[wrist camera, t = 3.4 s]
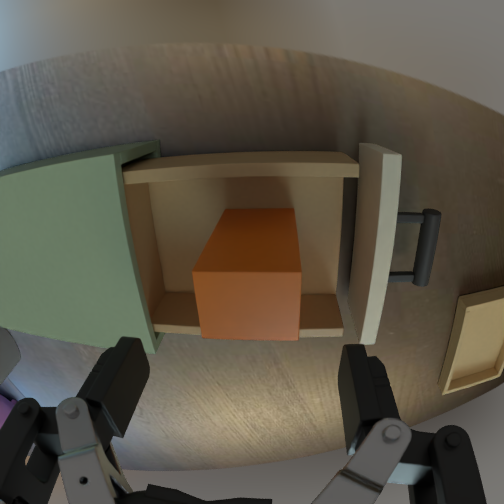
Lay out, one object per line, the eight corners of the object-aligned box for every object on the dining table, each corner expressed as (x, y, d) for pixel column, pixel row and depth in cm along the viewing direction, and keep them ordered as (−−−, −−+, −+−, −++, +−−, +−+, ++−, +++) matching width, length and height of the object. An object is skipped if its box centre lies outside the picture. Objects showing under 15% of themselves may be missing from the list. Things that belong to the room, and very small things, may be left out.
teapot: (31, 398, 43) (2, 445, 32) (63, 441, 49) (42, 483, 38) (-23, 376, 45) (-50, 411, 34) (6, 417, 51) (-15, 451, 40)
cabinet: (159, 139, 23) (113, 153, 16) (181, 300, 29) (155, 354, 22) (6, 168, 25) (-45, 189, 18) (38, 290, 31) (0, 327, 24)
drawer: (424, 147, 21) (462, 161, 15) (403, 299, 26) (424, 340, 21) (141, 150, 23) (103, 163, 17) (164, 299, 28) (142, 339, 23)
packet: (294, 208, 23) (302, 271, 14) (293, 258, 24) (298, 340, 16) (224, 208, 23) (191, 271, 14) (228, 258, 25) (201, 338, 16)
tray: (458, 296, 27) (466, 307, 25) (520, 281, 25) (530, 290, 23) (437, 383, 32) (442, 395, 30) (494, 366, 31) (500, 376, 29)
